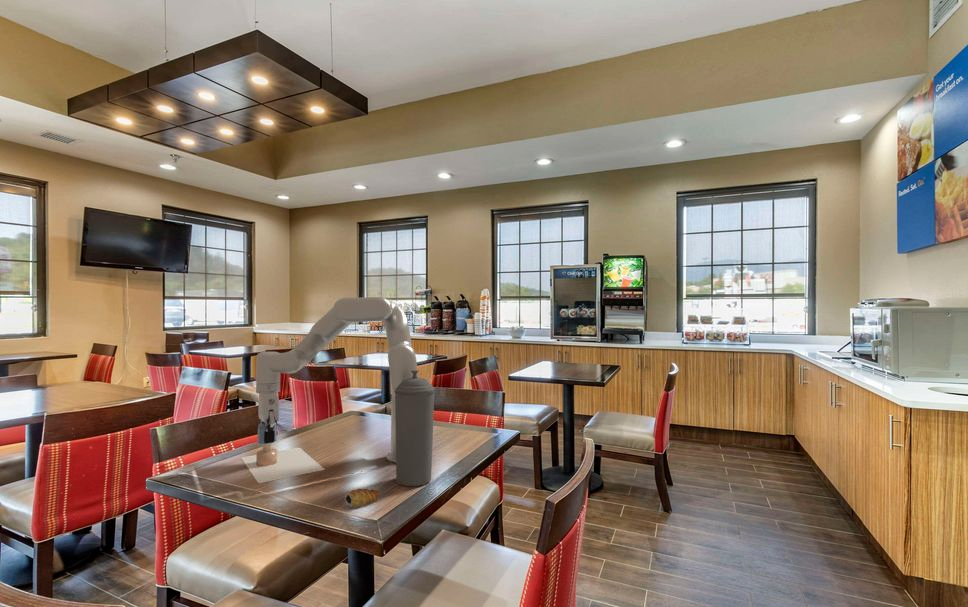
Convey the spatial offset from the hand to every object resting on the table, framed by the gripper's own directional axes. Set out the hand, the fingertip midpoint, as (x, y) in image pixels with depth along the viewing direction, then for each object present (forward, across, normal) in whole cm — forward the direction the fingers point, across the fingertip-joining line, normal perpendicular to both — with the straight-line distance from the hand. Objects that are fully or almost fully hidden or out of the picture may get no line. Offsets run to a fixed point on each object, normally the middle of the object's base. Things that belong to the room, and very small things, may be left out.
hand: (267, 439), depth 152 cm
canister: (+9, -42, -34) cm, 55 cm away
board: (+9, -3, -4) cm, 10 cm away
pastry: (+9, -47, -14) cm, 50 cm away
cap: (0, 0, 0) cm, 0 cm away
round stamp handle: (+8, 0, 0) cm, 8 cm away
